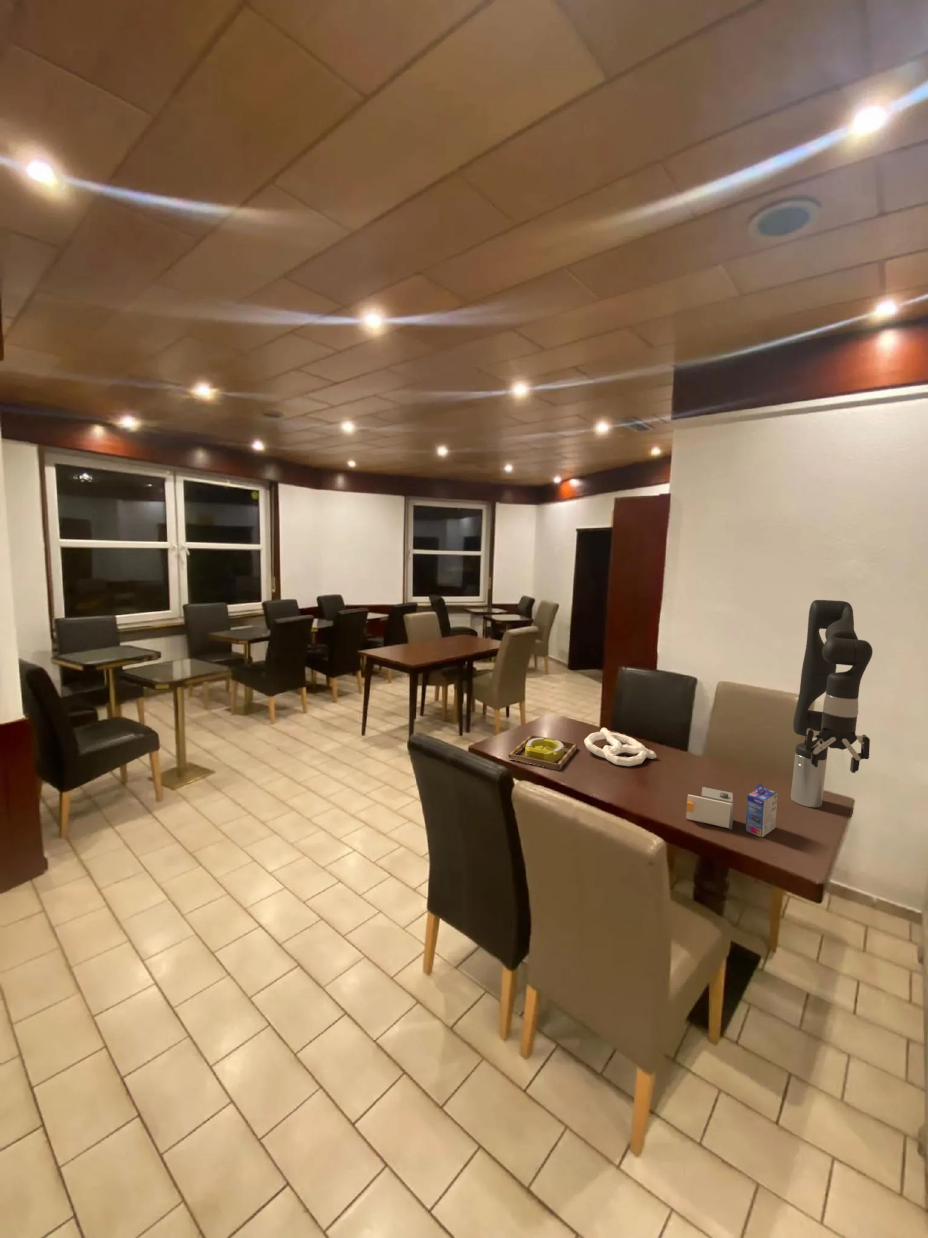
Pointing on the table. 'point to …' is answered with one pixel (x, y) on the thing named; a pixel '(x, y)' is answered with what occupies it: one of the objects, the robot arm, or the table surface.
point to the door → (710, 811)
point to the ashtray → (544, 749)
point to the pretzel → (618, 748)
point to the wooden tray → (540, 762)
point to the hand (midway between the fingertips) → (833, 769)
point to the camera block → (717, 795)
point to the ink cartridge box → (761, 811)
